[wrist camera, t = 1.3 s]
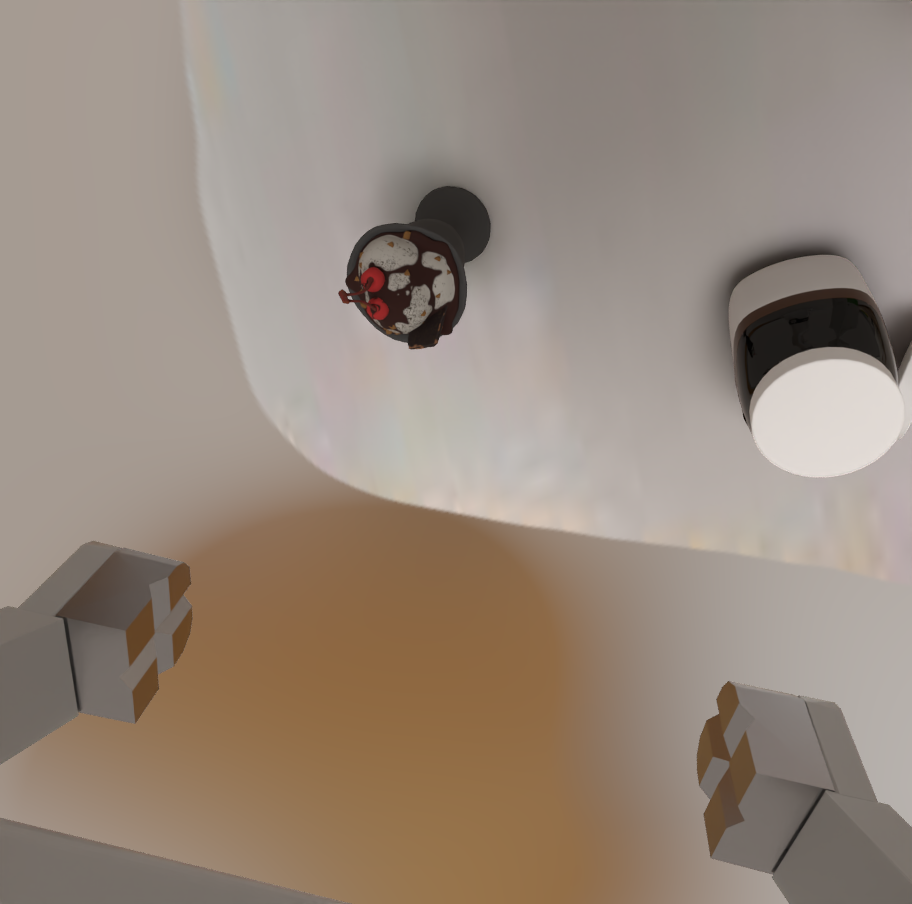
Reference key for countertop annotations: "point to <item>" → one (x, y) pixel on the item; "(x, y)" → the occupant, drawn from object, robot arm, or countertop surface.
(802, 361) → the spread jar
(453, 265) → the sundae
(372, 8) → the countertop surface
